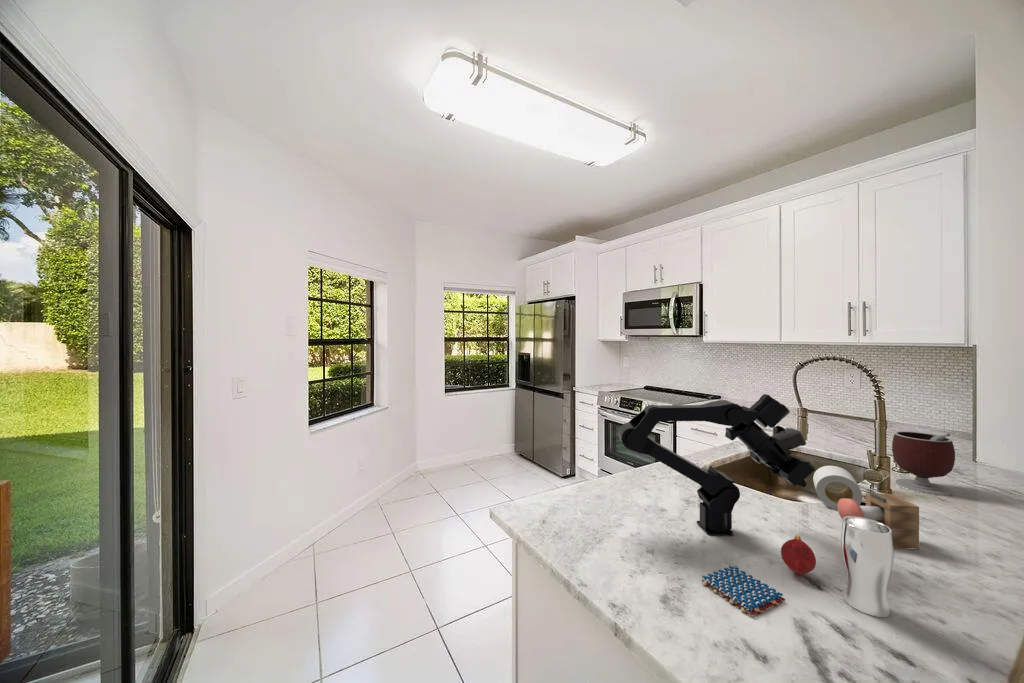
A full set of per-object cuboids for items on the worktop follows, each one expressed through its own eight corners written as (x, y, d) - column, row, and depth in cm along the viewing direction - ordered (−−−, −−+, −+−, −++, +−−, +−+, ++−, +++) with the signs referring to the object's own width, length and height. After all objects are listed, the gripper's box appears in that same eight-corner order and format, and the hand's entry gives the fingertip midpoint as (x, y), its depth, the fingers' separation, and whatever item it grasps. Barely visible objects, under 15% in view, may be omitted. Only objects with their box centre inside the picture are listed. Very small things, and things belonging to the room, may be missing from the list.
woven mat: (752, 622, 65) (752, 610, 65) (699, 585, 74) (699, 575, 74) (788, 605, 69) (788, 594, 69) (734, 572, 79) (734, 563, 79)
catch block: (889, 547, 87) (889, 501, 87) (864, 532, 94) (864, 489, 94) (919, 549, 86) (919, 503, 86) (892, 533, 93) (892, 491, 93)
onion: (822, 584, 74) (822, 545, 74) (790, 581, 75) (790, 542, 75) (805, 567, 79) (805, 530, 79) (775, 564, 81) (775, 527, 80)
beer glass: (831, 593, 71) (831, 516, 71) (864, 591, 72) (864, 514, 72) (868, 620, 64) (868, 535, 64) (905, 618, 65) (905, 533, 65)
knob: (856, 529, 88) (856, 504, 88) (837, 517, 94) (837, 494, 94) (892, 531, 87) (892, 506, 87) (870, 519, 93) (870, 495, 93)
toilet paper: (813, 494, 117) (813, 462, 117) (855, 502, 111) (855, 469, 111) (816, 505, 109) (816, 472, 109) (862, 515, 103) (862, 479, 103)
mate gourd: (880, 478, 129) (880, 422, 129) (925, 480, 128) (925, 423, 127) (923, 497, 114) (923, 433, 114) (975, 500, 112) (975, 434, 112)
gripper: (805, 427, 84) (859, 477, 82) (761, 411, 102) (805, 452, 101) (768, 460, 85) (820, 510, 83) (731, 438, 103) (774, 479, 102)
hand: (804, 485), depth 92 cm, fingers closed
